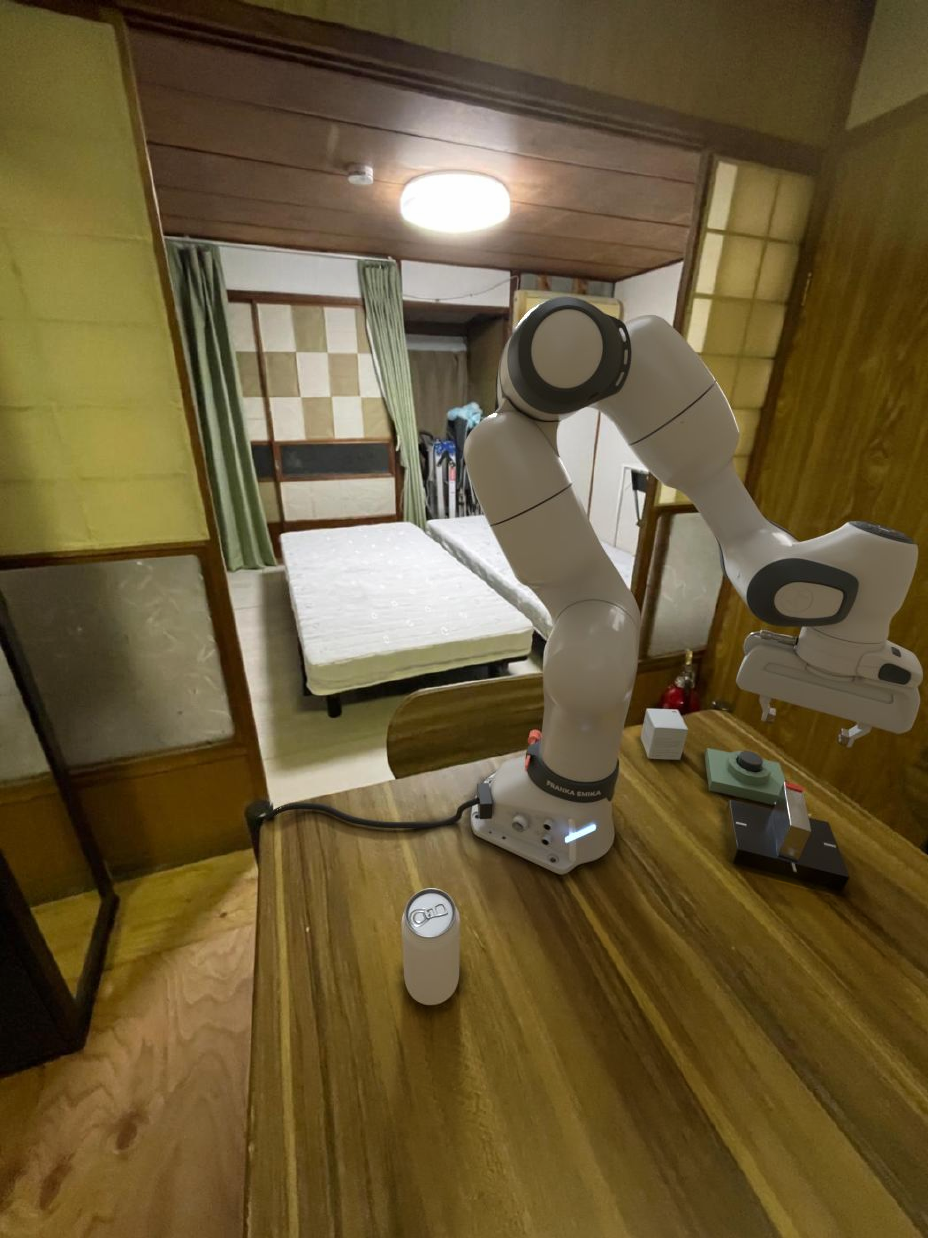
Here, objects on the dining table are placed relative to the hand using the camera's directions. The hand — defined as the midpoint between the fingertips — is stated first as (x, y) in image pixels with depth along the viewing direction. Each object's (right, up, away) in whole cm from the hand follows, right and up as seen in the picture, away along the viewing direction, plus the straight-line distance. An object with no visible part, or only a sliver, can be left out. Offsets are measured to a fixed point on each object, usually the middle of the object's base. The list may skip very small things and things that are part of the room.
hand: (804, 731), depth 73 cm
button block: (+1, -13, +18) cm, 22 cm away
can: (-52, -27, -12) cm, 60 cm away
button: (+1, -9, +16) cm, 18 cm away
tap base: (-1, -19, +5) cm, 19 cm away
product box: (-11, -9, +25) cm, 29 cm away
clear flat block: (-1, -16, +3) cm, 16 cm away
